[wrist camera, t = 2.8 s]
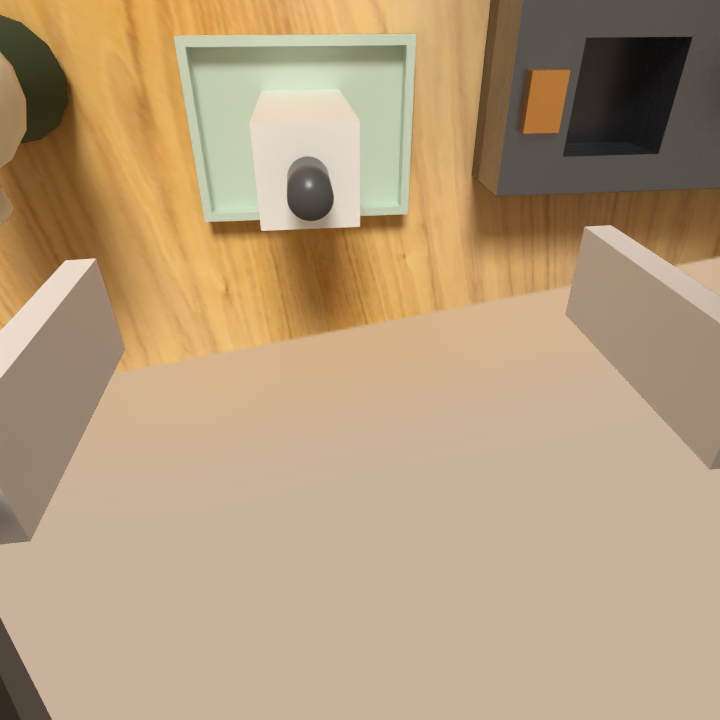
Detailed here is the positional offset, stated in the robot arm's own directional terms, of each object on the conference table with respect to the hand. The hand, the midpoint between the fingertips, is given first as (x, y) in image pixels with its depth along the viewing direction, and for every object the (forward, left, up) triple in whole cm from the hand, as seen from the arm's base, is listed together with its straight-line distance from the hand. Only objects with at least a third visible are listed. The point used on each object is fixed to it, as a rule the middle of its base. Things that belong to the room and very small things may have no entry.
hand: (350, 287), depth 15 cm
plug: (0, -1, -21) cm, 21 cm away
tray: (0, -1, -22) cm, 22 cm away
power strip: (-2, +23, -22) cm, 32 cm away
